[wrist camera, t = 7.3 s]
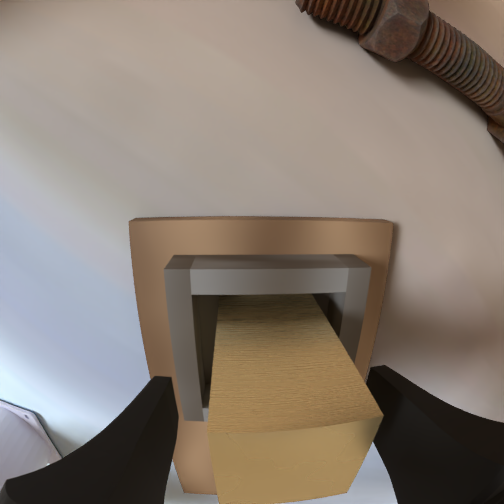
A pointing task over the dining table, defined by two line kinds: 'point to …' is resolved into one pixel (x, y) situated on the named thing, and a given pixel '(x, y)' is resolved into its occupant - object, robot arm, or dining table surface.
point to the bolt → (422, 46)
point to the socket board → (246, 283)
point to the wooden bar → (284, 403)
